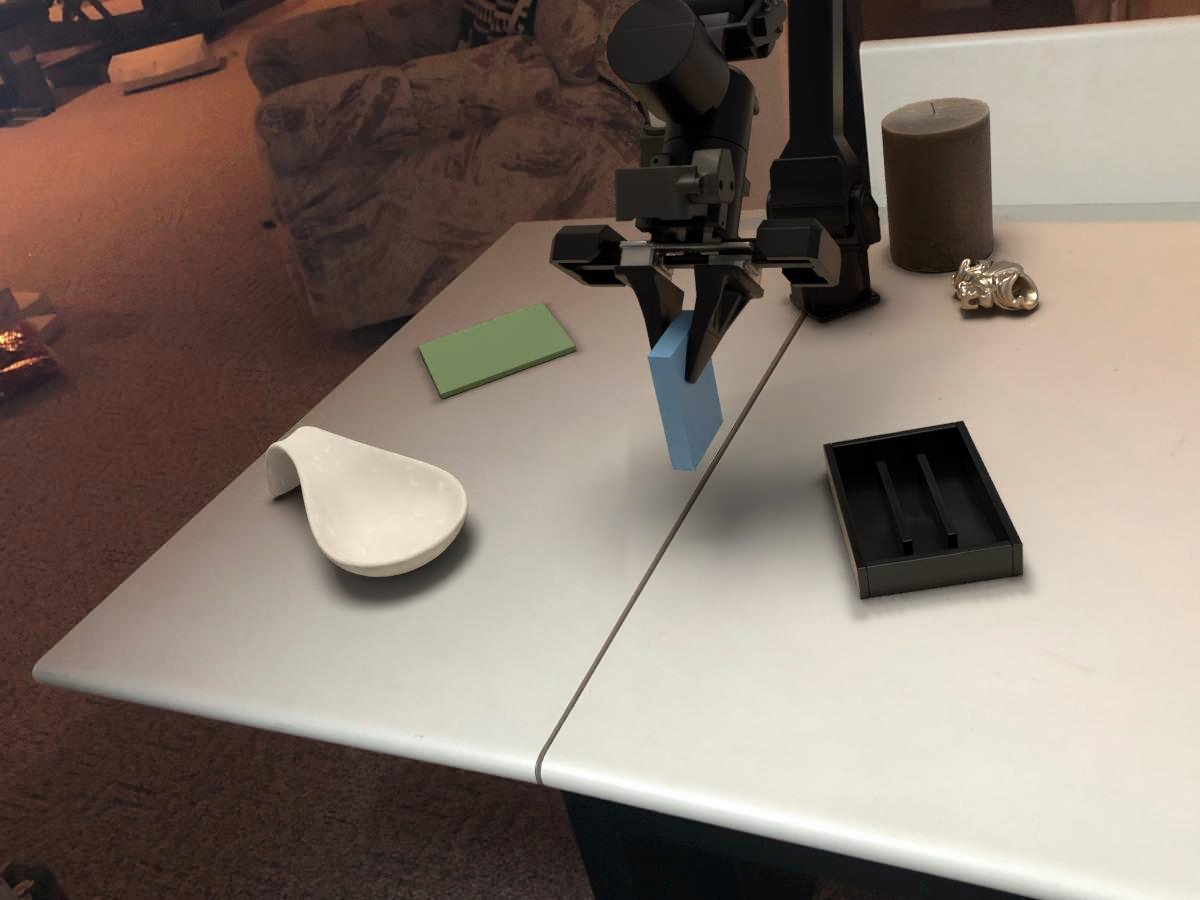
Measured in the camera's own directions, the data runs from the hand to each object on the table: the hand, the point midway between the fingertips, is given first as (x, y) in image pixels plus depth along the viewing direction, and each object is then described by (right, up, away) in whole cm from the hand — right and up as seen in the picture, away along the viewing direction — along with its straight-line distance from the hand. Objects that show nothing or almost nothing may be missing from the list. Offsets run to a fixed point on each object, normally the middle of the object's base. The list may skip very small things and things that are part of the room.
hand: (675, 381), depth 71 cm
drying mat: (-16, +6, +40) cm, 43 cm away
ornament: (+30, +8, +26) cm, 40 cm away
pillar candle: (+29, +15, +36) cm, 49 cm away
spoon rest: (-24, -11, +19) cm, 33 cm away
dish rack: (+17, -10, +3) cm, 20 cm away
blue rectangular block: (+2, -4, +4) cm, 6 cm away
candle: (+5, +20, +52) cm, 56 cm away
